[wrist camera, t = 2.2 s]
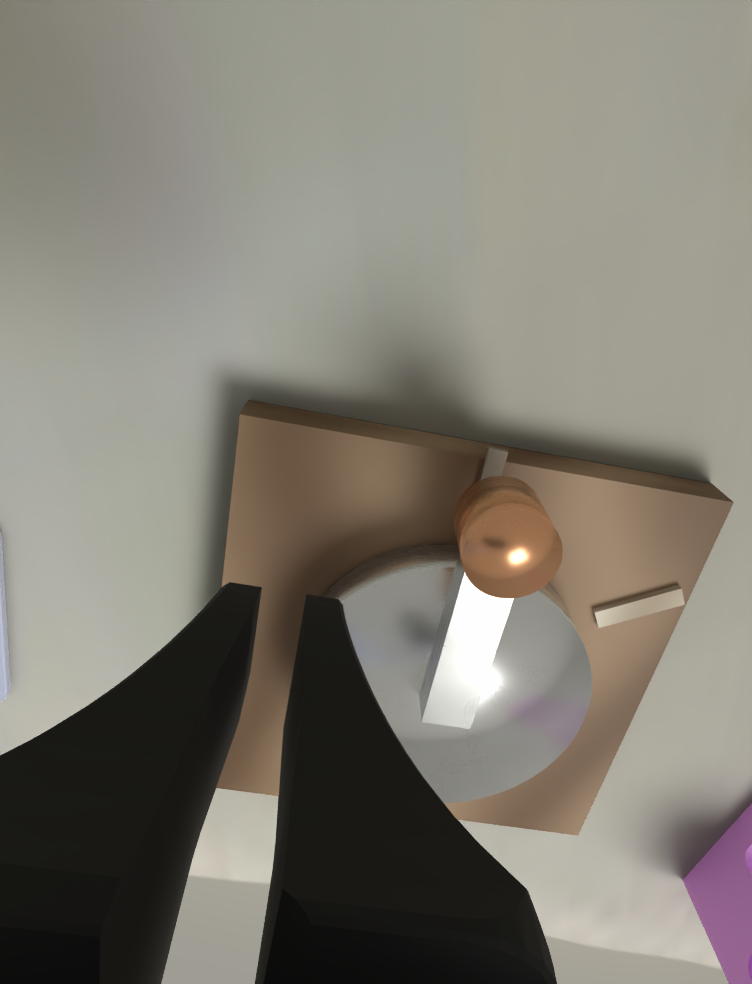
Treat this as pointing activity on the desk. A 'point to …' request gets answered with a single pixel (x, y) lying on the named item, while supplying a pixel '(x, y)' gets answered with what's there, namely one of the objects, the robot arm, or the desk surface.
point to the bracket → (727, 898)
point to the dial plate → (429, 519)
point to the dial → (473, 644)
